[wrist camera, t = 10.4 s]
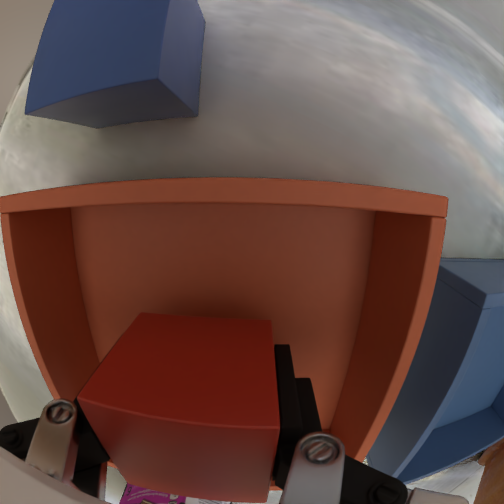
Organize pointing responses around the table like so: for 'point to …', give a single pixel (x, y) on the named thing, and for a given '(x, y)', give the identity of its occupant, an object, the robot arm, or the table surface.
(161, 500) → the candy bar box
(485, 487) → the jug
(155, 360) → the red block
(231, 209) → the rust bin
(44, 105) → the blue block
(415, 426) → the blue bin
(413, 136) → the table surface
